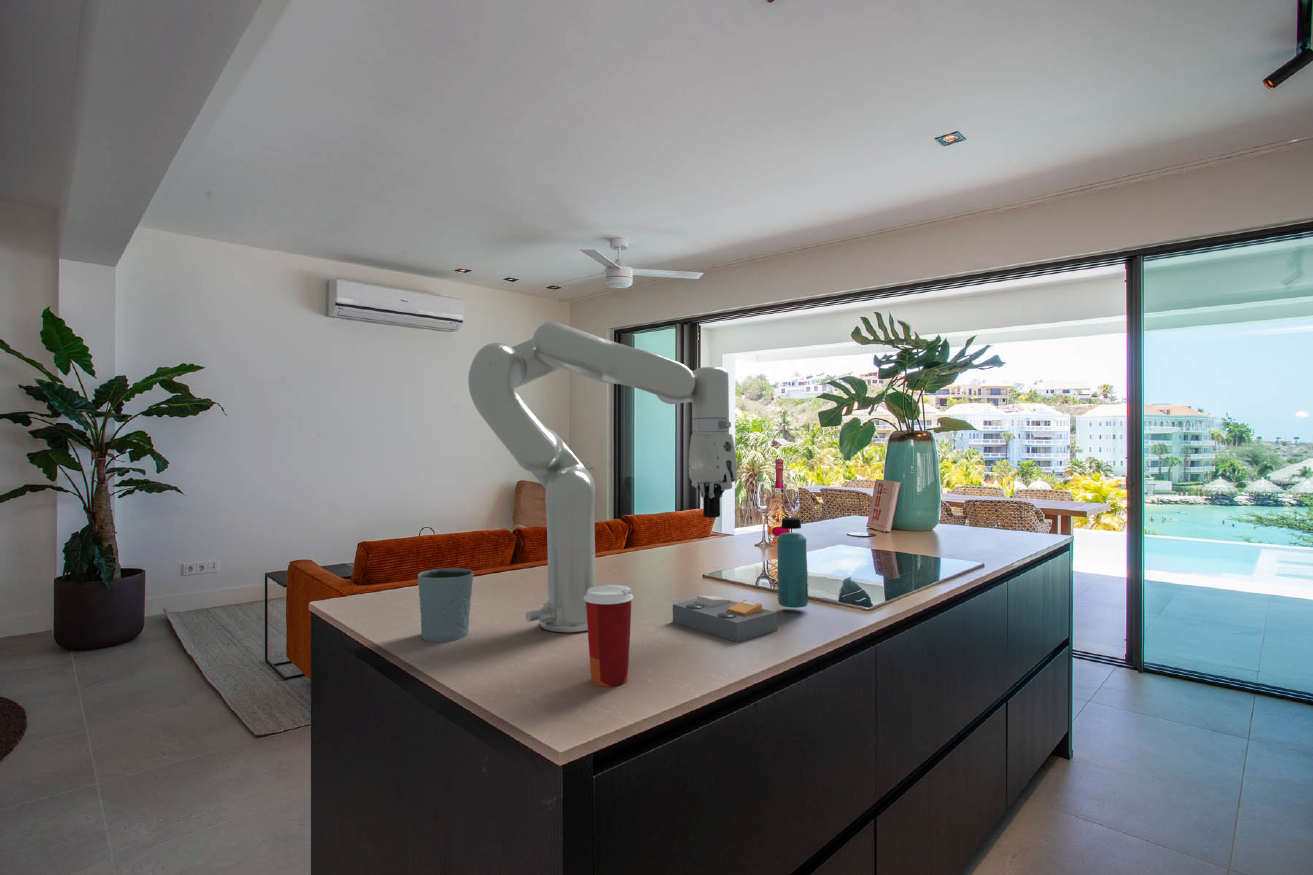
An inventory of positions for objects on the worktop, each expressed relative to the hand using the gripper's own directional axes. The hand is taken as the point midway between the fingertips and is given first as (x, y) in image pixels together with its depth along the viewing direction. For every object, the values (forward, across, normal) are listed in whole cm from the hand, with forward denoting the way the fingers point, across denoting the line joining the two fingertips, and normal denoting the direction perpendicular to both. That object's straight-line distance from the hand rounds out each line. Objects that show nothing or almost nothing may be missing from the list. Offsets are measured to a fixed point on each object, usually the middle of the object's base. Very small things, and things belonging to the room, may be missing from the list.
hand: (711, 516), depth 133 cm
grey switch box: (+21, -4, +2) cm, 22 cm away
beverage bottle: (+21, -6, -18) cm, 28 cm away
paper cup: (+21, -14, +36) cm, 44 cm away
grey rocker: (+18, 0, 0) cm, 18 cm away
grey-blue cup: (+21, +26, +46) cm, 57 cm away
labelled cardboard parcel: (+18, -9, 0) cm, 20 cm away
